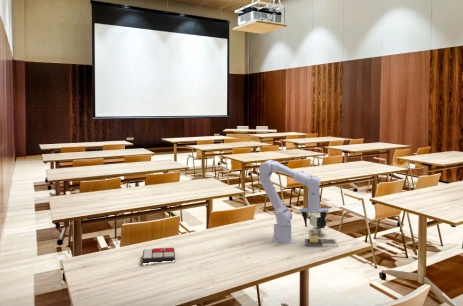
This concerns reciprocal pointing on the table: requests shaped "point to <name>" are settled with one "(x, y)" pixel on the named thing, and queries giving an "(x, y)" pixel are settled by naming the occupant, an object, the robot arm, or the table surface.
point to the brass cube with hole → (313, 238)
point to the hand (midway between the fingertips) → (313, 226)
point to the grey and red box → (158, 255)
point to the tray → (322, 243)
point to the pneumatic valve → (316, 222)
